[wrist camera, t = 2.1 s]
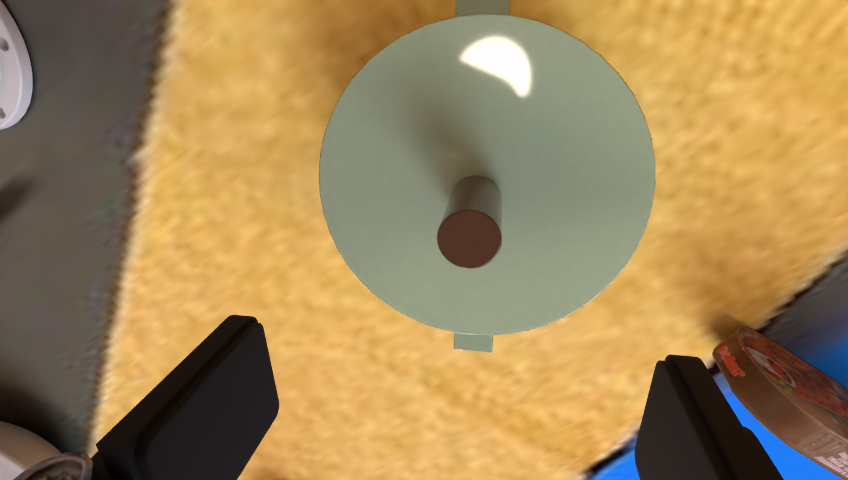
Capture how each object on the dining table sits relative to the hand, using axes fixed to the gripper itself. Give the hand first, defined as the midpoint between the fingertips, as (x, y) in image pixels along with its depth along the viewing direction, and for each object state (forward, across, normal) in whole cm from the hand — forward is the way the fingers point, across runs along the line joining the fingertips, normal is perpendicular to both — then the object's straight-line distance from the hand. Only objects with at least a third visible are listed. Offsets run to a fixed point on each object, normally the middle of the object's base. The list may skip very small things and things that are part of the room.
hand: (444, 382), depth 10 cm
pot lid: (+13, 0, 0) cm, 13 cm away
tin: (+22, -23, +16) cm, 35 cm away
